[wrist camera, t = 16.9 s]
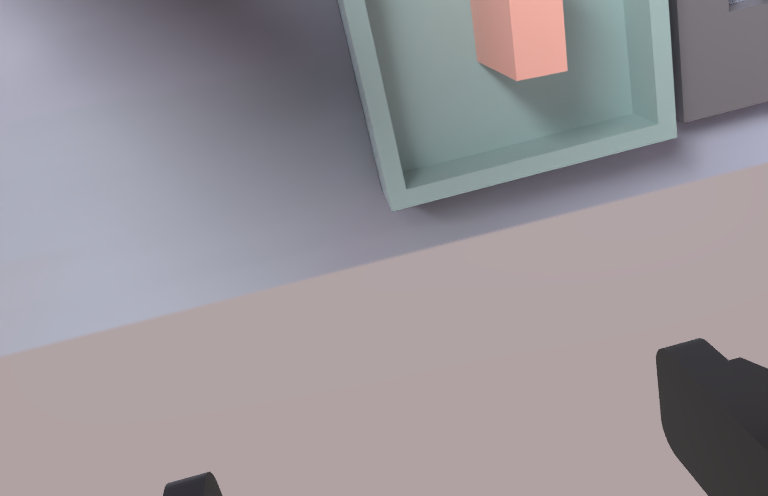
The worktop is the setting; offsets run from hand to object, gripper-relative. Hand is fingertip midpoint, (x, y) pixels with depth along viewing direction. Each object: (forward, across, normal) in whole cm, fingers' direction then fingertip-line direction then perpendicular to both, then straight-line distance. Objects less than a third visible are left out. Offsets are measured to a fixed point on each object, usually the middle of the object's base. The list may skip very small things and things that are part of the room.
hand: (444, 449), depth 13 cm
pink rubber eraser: (+29, -10, -4) cm, 31 cm away
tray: (+30, -10, -4) cm, 32 cm away
